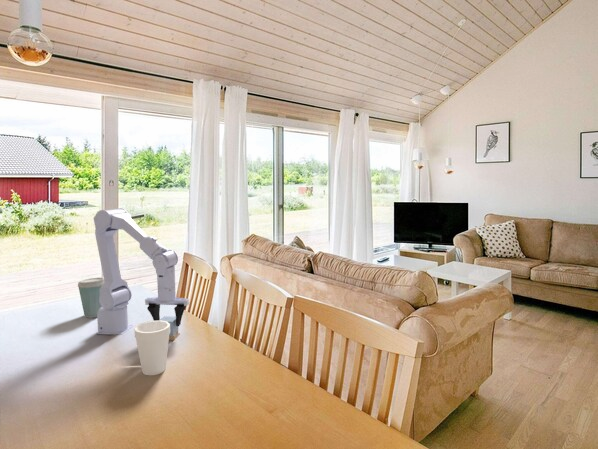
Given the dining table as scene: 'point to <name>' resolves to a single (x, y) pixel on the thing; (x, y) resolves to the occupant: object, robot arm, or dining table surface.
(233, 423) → the dining table surface
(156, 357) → the foam cup
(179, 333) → the slab bottom
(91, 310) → the disposable coffee cup
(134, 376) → the dining table surface
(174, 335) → the slab top
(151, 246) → the robot arm
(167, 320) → the cube
